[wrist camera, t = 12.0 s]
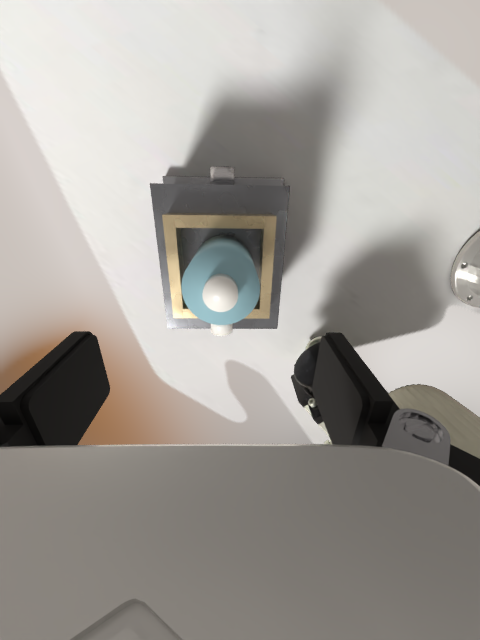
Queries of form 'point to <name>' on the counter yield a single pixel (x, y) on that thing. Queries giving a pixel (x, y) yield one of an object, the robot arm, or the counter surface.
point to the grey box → (221, 219)
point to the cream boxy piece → (308, 381)
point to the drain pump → (221, 283)
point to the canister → (443, 414)
